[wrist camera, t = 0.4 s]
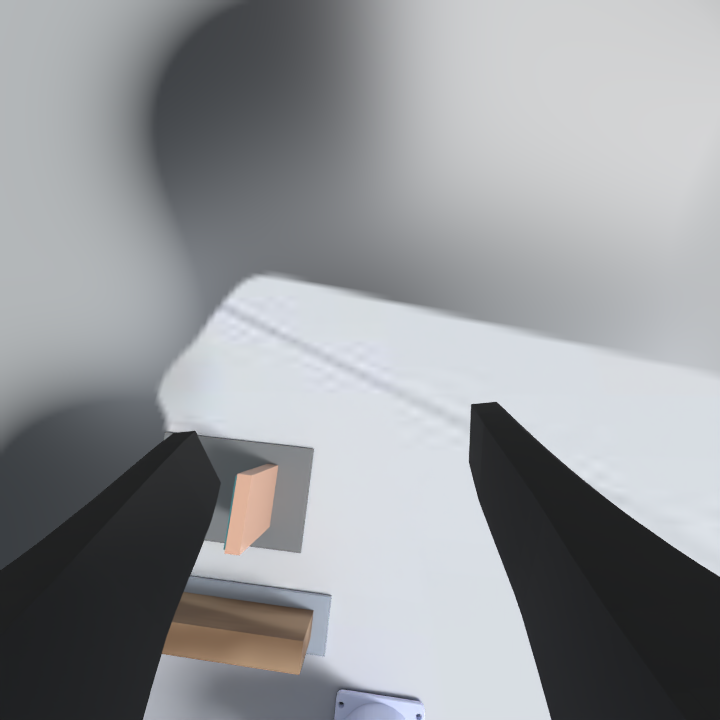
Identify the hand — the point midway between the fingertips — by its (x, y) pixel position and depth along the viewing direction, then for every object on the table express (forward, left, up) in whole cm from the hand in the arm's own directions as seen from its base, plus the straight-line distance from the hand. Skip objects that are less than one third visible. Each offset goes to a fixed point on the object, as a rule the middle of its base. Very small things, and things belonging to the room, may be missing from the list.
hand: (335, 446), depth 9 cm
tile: (-7, +9, -28) cm, 30 cm away
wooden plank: (-18, +11, -28) cm, 35 cm away
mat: (-7, +13, -28) cm, 32 cm away
